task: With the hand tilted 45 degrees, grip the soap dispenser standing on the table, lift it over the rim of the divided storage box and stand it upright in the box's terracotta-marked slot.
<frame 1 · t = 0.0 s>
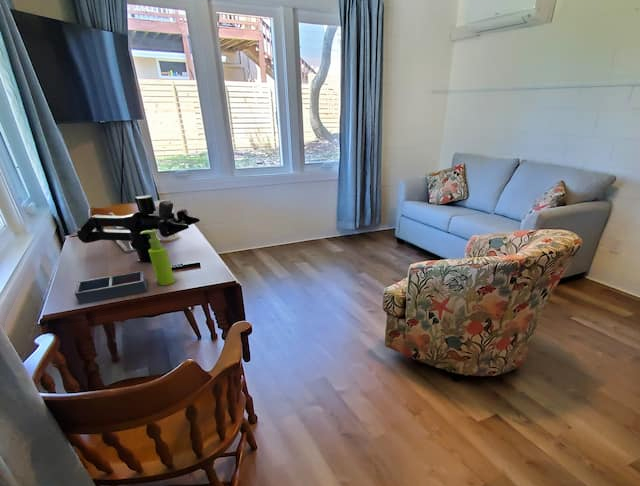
hand: (194, 223, 161), 17 cm above the table, tool horizontal, fingers open, 9 cm apart
soap dispenser: (165, 282, 153), on the table
white upright cylinder: (169, 239, 196), on the table
divided storage box: (114, 291, 146), on the table
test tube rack: (124, 245, 190), on the table
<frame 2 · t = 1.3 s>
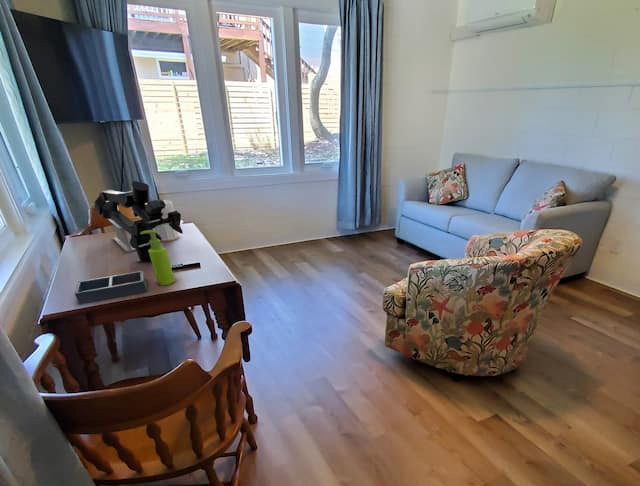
hand: (171, 235, 154), 15 cm above the table, tool tilted 65°, fingers open, 9 cm apart
nothing on the table moved.
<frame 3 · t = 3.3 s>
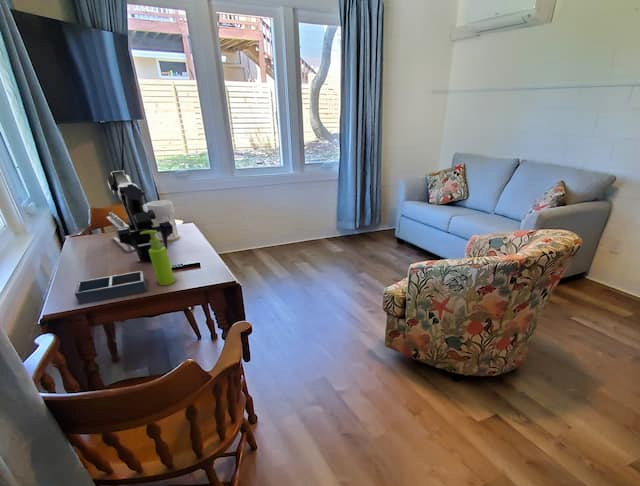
hand: (154, 251, 149), 11 cm above the table, tool tilted 45°, fingers open, 9 cm apart
nothing on the table moved.
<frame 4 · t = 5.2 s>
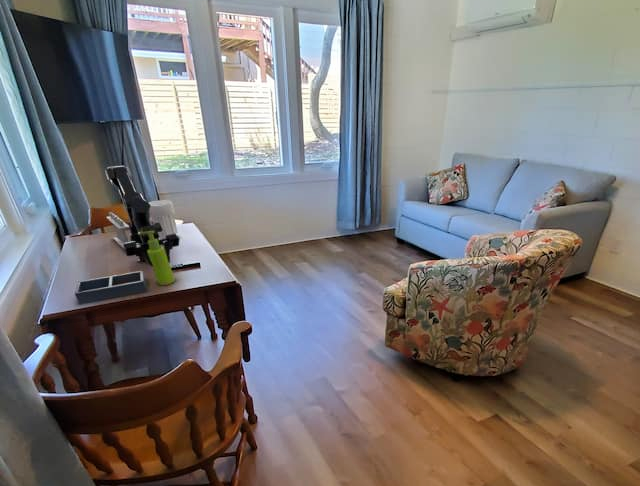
hand: (160, 264, 147), 8 cm above the table, tool tilted 45°, fingers closed on soap dispenser, 6 cm apart
soap dispenser: (165, 282, 153), on the table, touching gripper
everything else where it was.
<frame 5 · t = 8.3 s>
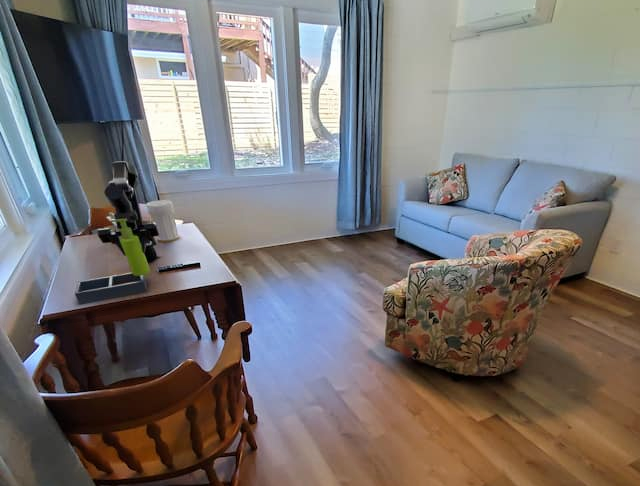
hand: (134, 254, 141), 13 cm above the table, tool tilted 45°, fingers closed on soap dispenser, 6 cm apart
soap dispenser: (140, 272, 147), point 5 cm above the table, touching gripper
everything else where it was.
when the fingers open (9 cm above the table, at t = 11.4 s): soap dispenser stays where it is, resting on divided storage box.
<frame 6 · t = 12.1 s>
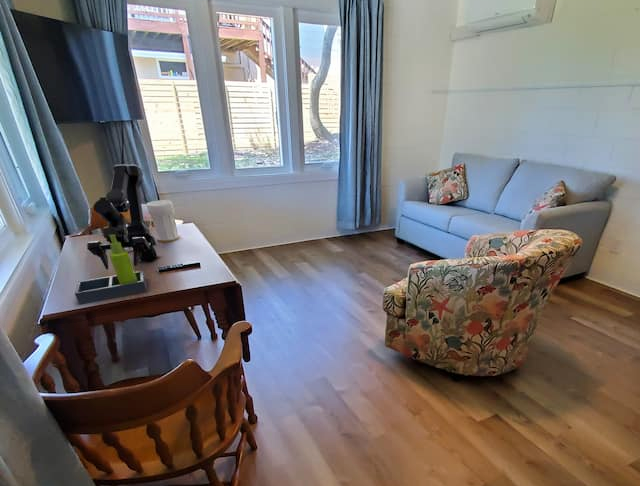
hand: (121, 267, 142), 9 cm above the table, tool tilted 45°, fingers open, 9 cm apart
soap dispenser: (129, 287, 148), point 1 cm above the table, touching divided storage box
everything else where it was.
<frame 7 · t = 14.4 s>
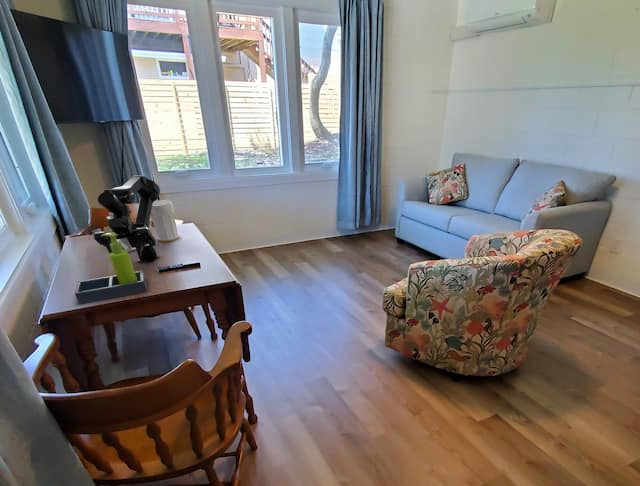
hand: (126, 256, 149), 10 cm above the table, tool tilted 45°, fingers open, 9 cm apart
nothing on the table moved.
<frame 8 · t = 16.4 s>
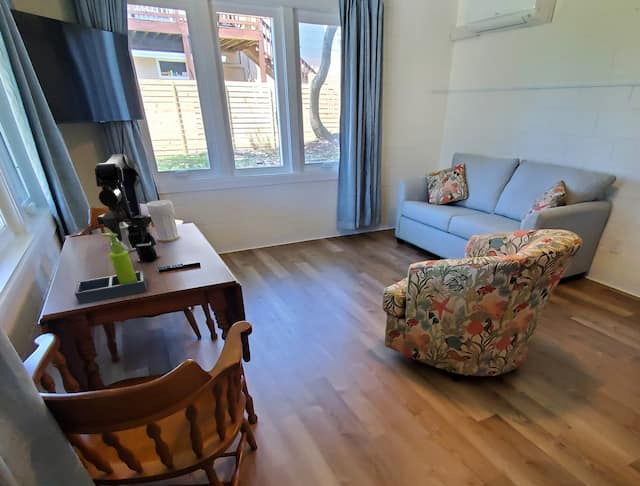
hand: (131, 241, 154), 13 cm above the table, tool pointing down, fingers open, 9 cm apart
nothing on the table moved.
at the end: soap dispenser 0.4 cm from the target spot in the divided storage box, point 0.6 cm above the divided storage box's base; soap dispenser tilted 0°; the gripper is holding nothing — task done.
